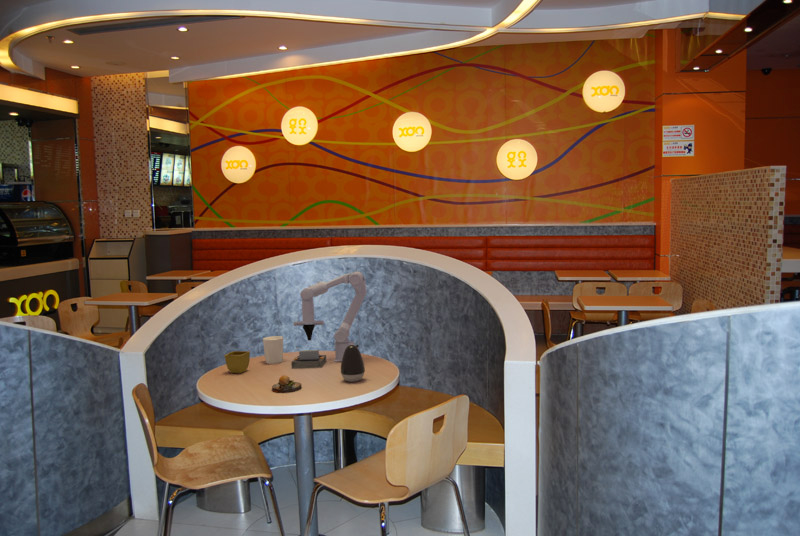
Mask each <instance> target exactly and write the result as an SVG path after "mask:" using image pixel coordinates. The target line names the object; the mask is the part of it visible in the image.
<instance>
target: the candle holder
mask: <svg viewBox="0 0 800 536" xmlns="http://www.w3.org/2000/svg"><path fill="white" fill-rule="evenodd" d="M262 344H263V350H264V359H265V360H264V361H265V364H268V365H275V364H281V363H283V362H284V336H280V335H275V336H273V335H272V336H266V337H263V338H262Z"/></svg>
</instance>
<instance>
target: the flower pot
mask: <svg viewBox="0 0 800 536" xmlns="http://www.w3.org/2000/svg"><path fill="white" fill-rule="evenodd" d="M250 354H251V351H249V350H247V351H246V350H243V351H242V350H241V351H239V350H235V351H234V350H233V351H230V352H228V353H226V354H224V355H223V356H224V360H225V364H226V367H227V370H228V371H229V372H230V373H231V374H241V373H244V372H246V371H247V370H248V367H249V364H250V360H251V359H250V357H251V355H250Z"/></svg>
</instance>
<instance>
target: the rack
mask: <svg viewBox="0 0 800 536" xmlns="http://www.w3.org/2000/svg"><path fill="white" fill-rule="evenodd" d="M326 362H327V354H319V359H300V358H299V355H297V356H295V357H294V358H293V360H292V361H291V363H290V364H291V369H317V368H319V369H321V368H323V366H325V364H326Z"/></svg>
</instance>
